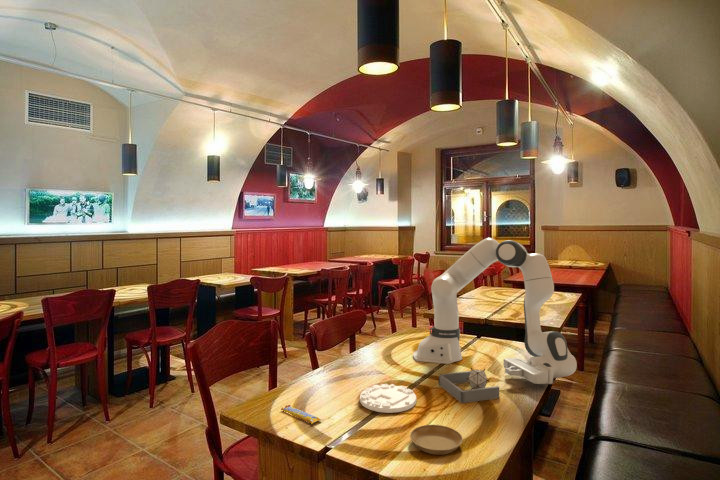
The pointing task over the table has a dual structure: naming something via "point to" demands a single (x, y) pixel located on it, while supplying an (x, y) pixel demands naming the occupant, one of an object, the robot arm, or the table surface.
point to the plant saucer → (436, 439)
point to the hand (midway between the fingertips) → (507, 371)
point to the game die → (477, 379)
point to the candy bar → (301, 414)
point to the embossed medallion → (388, 398)
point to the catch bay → (466, 395)
